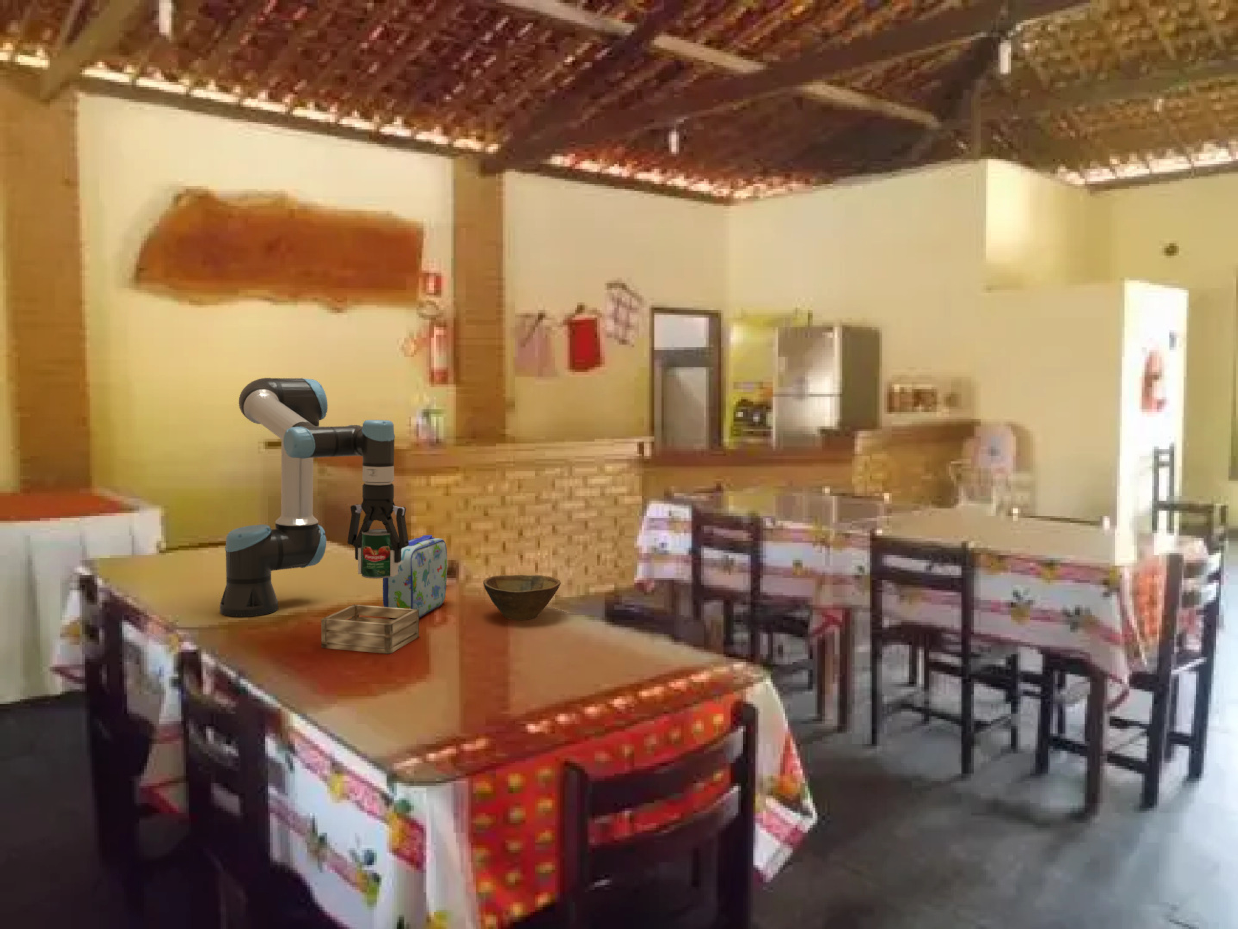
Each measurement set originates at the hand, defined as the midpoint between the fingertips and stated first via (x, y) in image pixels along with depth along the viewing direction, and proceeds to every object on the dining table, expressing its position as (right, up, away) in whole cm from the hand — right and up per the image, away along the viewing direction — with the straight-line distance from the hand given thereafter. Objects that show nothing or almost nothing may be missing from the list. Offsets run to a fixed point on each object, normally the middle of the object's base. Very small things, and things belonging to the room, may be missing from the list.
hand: (378, 574), depth 235 cm
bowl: (+33, -15, +29) cm, 46 cm away
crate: (-2, -17, 0) cm, 17 cm away
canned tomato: (0, -1, 0) cm, 1 cm away
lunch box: (+3, -15, +32) cm, 35 cm away
